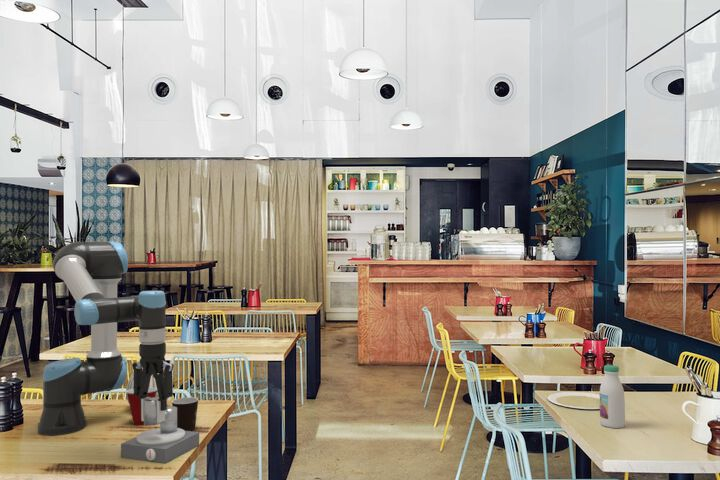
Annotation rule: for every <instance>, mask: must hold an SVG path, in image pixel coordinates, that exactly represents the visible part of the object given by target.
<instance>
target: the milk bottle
mask: <svg viewBox="0 0 720 480" xmlns="http://www.w3.org/2000/svg"><path fill="white" fill-rule="evenodd" d="M619 371H620V368H619V366H617V365H615V364H614V365H613V364H606V365H604V366H603V372H604V376H603V380H602V381H601V384H600V386H599V395H600V399H599V408H600V410H599V421H600V422H599V423H600V425H601V426H603V427H605V428H609V429H622V428H624V427H625V426H626V411H625V410H626V409H625V407H626V406H625V390H624V387H623V385H622V382H621V380H620V378H619V377H620V376H619V373H620V372H619Z"/></svg>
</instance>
